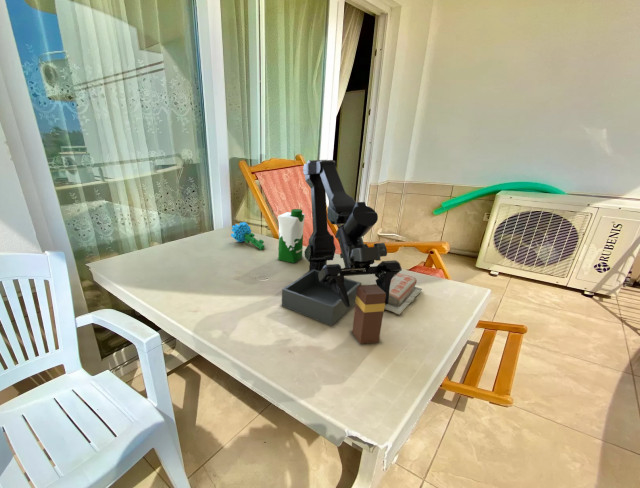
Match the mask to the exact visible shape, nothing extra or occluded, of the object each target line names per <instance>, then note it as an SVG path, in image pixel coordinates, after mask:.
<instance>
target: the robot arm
mask: <svg viewBox="0 0 640 488" xmlns="http://www.w3.org/2000/svg"><path fill="white" fill-rule="evenodd" d="M302 167H303V168H302V172H303V176H304V180H305V183H306V184H307V186H309V188H310V199H311V216H312V233H311V234H310V237H309V238H308V244H307V246H306V248H305V250H304V258H305V259H306V261H307V262H308V263H309V265H308V266H309V267H308V271H307V272H306V273H305V274H307V273H308V272H310V271H311V270H313V269H315V270H318V271H320V272H319V275H318V276H319V281H320V283H325V285H326V286H330V287H331V288H332V289H333V290H334V291H335V293H336V294H337V295H338V296H339V298H340V299H341V300H342V302H343V303H344V304H345V306H346V307H347V308H349V307H350V303H349V298H348V295H347V292H346V288H345V285H344V278H345V277H353V276H366V275H367V276H368V275H374V277H375V278H377V279H375V284H376V285H377V286H378V287H380V288H381V289H382V290H383V291H384V292H385V293H386V298H385V305H387V304H388V302H389V290H390V283H391V280H392V278H393V277H394V276H396V275H397V273H400V272H402V271H403V268H402V266H401V263H400V262H399V261H398V260H382V259H381V258H382V257H383V258H384V257H387V256H388V249H387V245H386V243H385V242H377V243H374V244H373V246H369V245H368V244H367V243H364V240H363V237H365V236H366V235H367V234H368V233H369V231H371V229H372V228H373V227H374V226H375V225H376V223H377V222H378V220H379V214H378V212H377V211H375V209H374V208H372V207H370V206H368V205H366V202H365V201H355V199H354V198H353V197H352V196H351V195H349V194H347V192H346V190H345V187H344V184H343V182H342V180H341V177H340V175H339V172H338V170H337V162H336V160H334V159H309V160H307V161H306V163H304V164H303V166H302ZM327 199H328V203H329V204H328V206H327ZM328 221H329V223H330V224H331V225H334V226H337V225H340V226H339V227H337V230H336V232H335V236H334V235H333V234H331V233H330V232H329V230H328V229H329V228H328ZM335 239H337V240H338V244H339V248H340V253H339V256H340V259H342V261H343V264H344V268H343V267H342V266H341V265H340V264H339V263H332V264H331V263H330V264H328V261H333V260H334V258H335V253H336V250H337V247H336V245H335ZM381 260H382V261H381ZM375 261H376V262H377V261H381V262H380V263H378V264H377V265H375V266H374V265H373V264H375Z"/></svg>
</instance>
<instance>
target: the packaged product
mask: <svg viewBox="0 0 640 488" xmlns="http://www.w3.org/2000/svg"><path fill="white" fill-rule="evenodd" d="M417 282H418V279H417V278H415V277H414V276H412V275H407V274H404V273H400V272H399V273H397V275H396V276H394V277H393V278H392V280H391V283H390V290H389V302H388V304H387V305H385V308H384V310H387V311H389V312H392V313H394V314H396V315H399V316H400V315H401V313H403V311H404V310H405V309H406V308H407V307H408V306H409V305H410V304H411V303H412V302H414V301H415V299H416V297H417V296H418V295H419V294H420V293H421V291H423V288H421V287H417V286H416V285H417Z"/></svg>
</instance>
